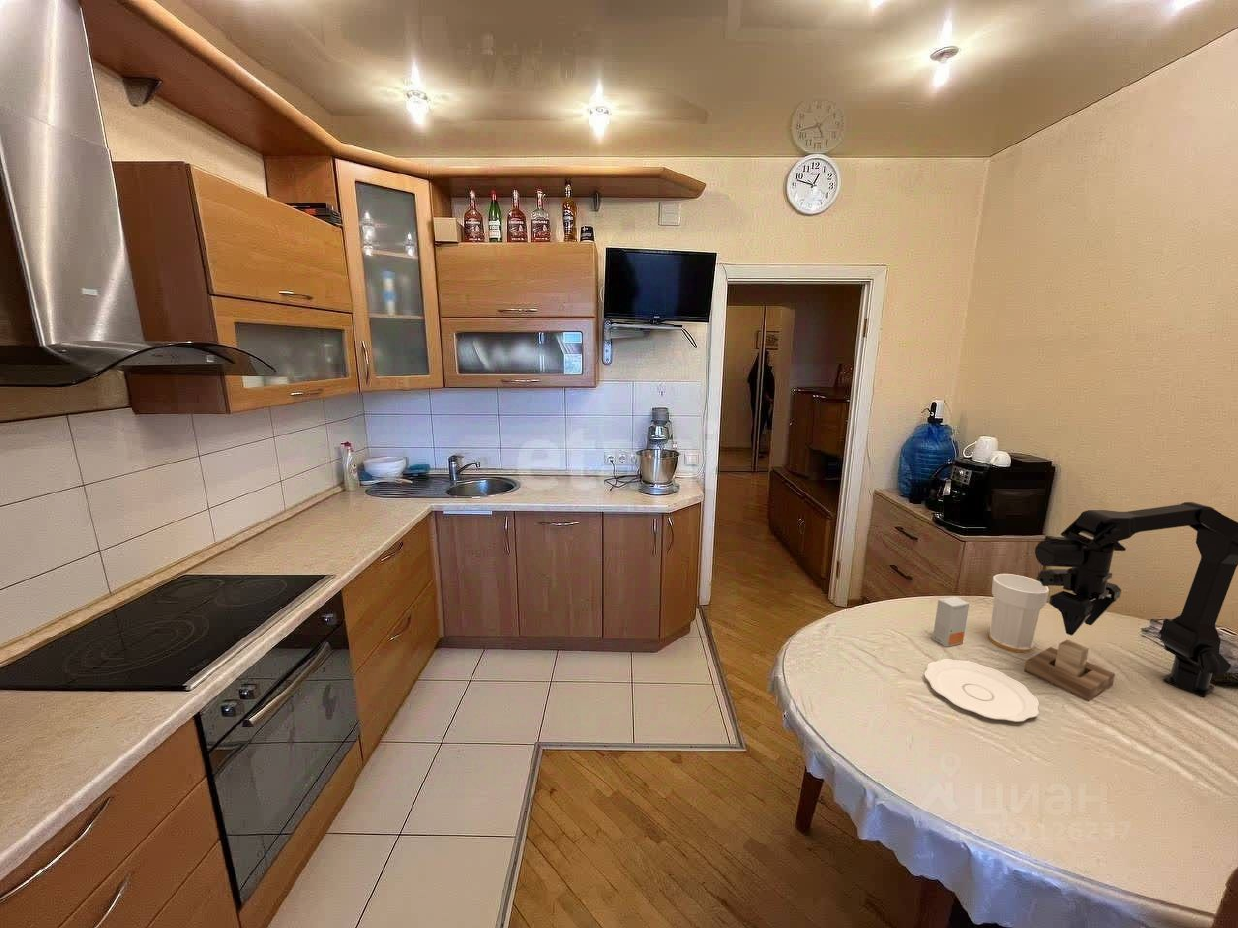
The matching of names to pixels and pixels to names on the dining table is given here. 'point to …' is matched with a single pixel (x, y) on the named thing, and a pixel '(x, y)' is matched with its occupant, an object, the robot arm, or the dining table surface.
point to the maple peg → (1072, 657)
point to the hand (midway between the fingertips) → (1078, 629)
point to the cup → (1016, 611)
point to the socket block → (1070, 675)
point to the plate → (982, 690)
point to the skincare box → (950, 621)
